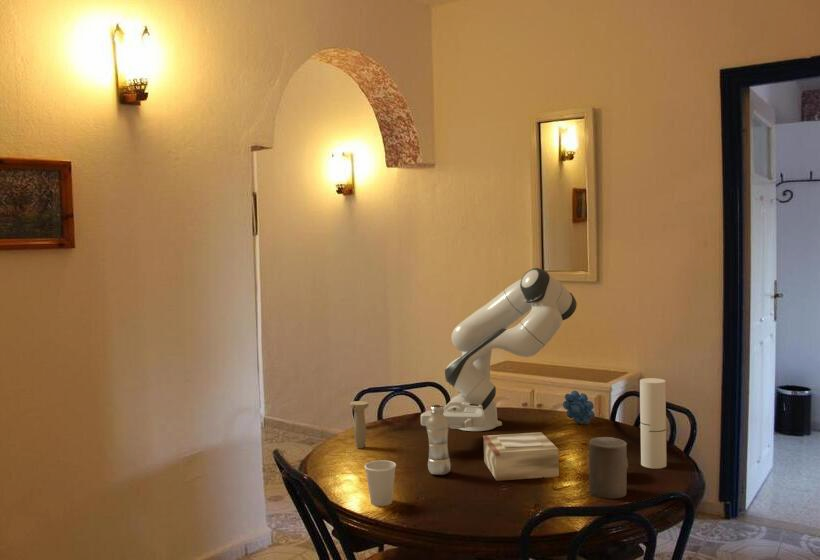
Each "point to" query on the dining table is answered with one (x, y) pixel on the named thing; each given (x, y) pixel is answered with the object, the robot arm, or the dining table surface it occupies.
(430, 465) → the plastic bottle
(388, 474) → the dixie cup
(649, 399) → the cylindrical container
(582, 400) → the grapes
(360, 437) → the handle
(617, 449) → the pillar candle
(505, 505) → the dining table surface
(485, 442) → the riser block
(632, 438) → the dining table surface
